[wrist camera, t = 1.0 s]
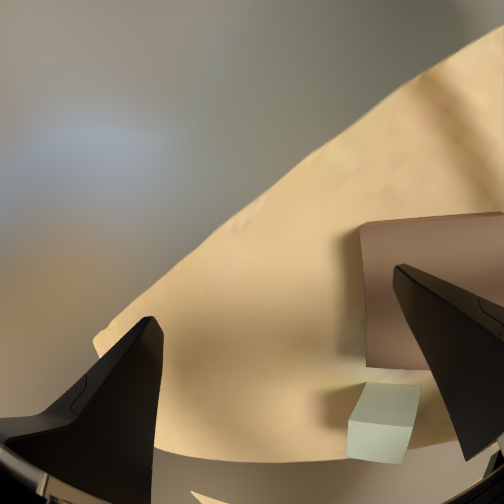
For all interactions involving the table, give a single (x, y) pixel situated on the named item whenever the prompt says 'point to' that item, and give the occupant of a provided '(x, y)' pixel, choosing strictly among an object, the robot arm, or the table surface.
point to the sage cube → (382, 422)
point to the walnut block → (428, 260)
